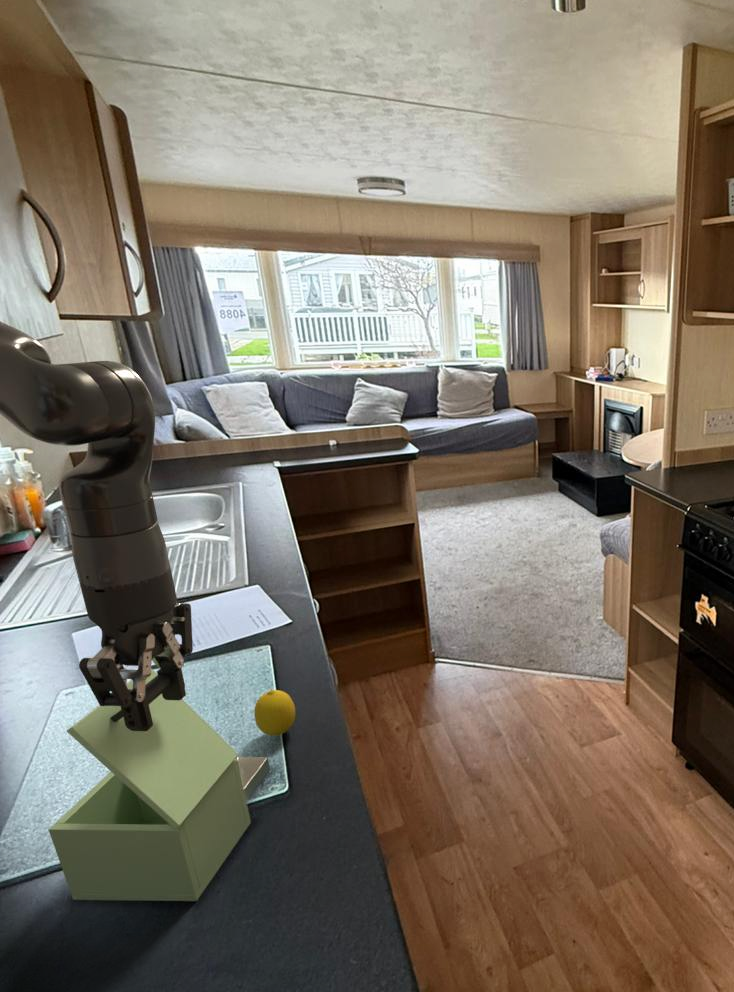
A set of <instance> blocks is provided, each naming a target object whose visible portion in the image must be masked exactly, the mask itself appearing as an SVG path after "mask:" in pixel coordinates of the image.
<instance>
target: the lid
mask: <svg viewBox="0 0 734 992" xmlns="http://www.w3.org/2000/svg"><path fill="white" fill-rule="evenodd" d="M126 686H127V688H128V689H133V680H132V679H130V680H129V681H128V682H127V685H126ZM170 686H171V679H170V678H169V677H168V676H167V675H164V674H159V675H158V674H157V672H155V670H154V669H153V668H151V675H150V676H149V677H148V678H146V686H145V697H147V700H148V704H149V708H150V713H151V717H152V721H153V726H152V727H151V728H150V729H149V730H148V731H131V730H130V729H128V728H127V727H126V726H125V721H124V717H123V714H122V710H121V706H100V705H99V704H98V706H96V707H95V708H93V709H92V710H91V711H90V712H88V713H87V714H86V715H84V716H83V717H81V719H80V720H79V721H77V722H76V723H74V724H73V725H72V726H70V727H69V728H68V729H67V730H66V733H68V734H69V735H70V736H71V737H72V738H73V739H74V740H75V741H77V742H78V743H79V744H80V745H81V746H82V747H83V748H84V749H85V750H86V751H87V752H89V753H90V754H91V755H92V756H93V757H94V758H95V759H96V760H97V761H99V762H100V763H101V765H103V766H104V767H105V768H106V769H107V770H109V771H110V772H112V773H113V774H114V775H115V776H117V777H118V778H119V779H120V780H121V781H122V782H123V783H124V784H125V785H127V786H128V787H129V788H130V789H131V790H132V791H133V792H134V793H135V794H137V795H138V796H139V797H140V798H141V799H142V800H143V801H144V802H145V803H147V804H148V805H149V806H150V807H151V808H152V809H153V810H154V811H155V812H157V813H158V814H159V815H160V816H161V817H162V818H163V819H164V820H165V821H167V822H168V823H169V824H170V825H171V826H172V827H173V828H176V827H178V826H180V825H181V823H182V822H183V821H184V820H185V818H186V817H187V816H188V815H189V814H190V812H191V811H192V810H193V809H194V808H195V806H196V805H197V804H198V803H199V801H200V800H201V799H202V798H203V797H204V795H205V794H206V793H207V792H208V791H209V789H210V788H211V787H212V786H213V785H214V783H215V782H216V781H217V780H218V778H219V777H220V776H221V775H222V774H223V772H224V771H225V770H226V769H227V768H228V766H229V765H230V764H231V763H232V762H233V760H234V759H235V758H236V757H237V755H238V756H239V753H238V752H237V751H236V750H235V749H234V748H233V747H232V746H231V745H230V744H229V743H228V742H227V741H226V740H225V739H224V738H223V737H222V736H220V735H219V733H218V732H217V731H216V730H215V729H214V728H212V726H210V724H208V723H207V722H206V721H205V720H204V719H203V717H201V715H200V714H198V713H197V712H196V710H194V709H193V708H192V707H191V706H190V705H189V704H188V703H187V701H185V700H184V698H182V699H181V700H165V699H164V698H163V696H162V693H163V692H164V691H165V690H166V689H168V688H169V687H170Z"/></svg>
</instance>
